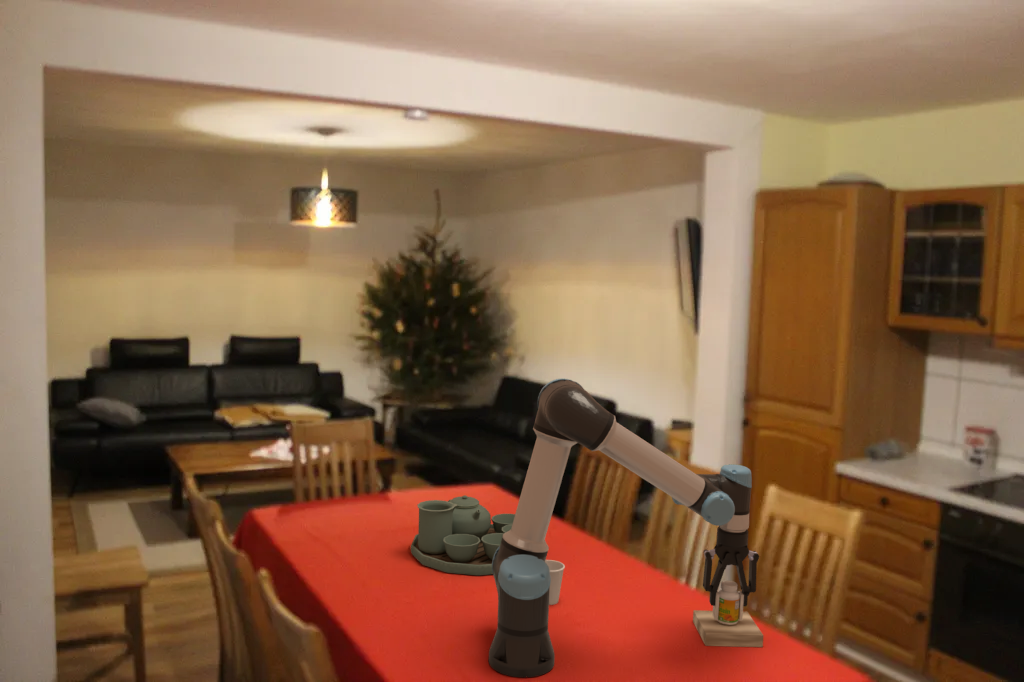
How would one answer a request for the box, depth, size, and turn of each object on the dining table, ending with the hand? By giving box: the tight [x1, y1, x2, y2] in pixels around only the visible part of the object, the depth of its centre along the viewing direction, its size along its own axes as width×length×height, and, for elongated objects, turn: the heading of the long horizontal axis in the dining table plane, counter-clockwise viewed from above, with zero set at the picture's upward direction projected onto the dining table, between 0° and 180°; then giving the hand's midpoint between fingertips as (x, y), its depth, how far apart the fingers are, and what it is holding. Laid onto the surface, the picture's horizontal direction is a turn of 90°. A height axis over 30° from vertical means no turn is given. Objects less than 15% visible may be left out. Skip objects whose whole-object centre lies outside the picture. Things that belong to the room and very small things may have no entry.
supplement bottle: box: [717, 580, 740, 625], centre depth 218 cm, size 5×5×10 cm
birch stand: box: [692, 609, 764, 648], centre depth 219 cm, size 14×14×3 cm
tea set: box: [410, 495, 515, 576], centre depth 271 cm, size 40×40×16 cm
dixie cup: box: [545, 559, 566, 606], centre depth 235 cm, size 8×8×10 cm
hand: (727, 617), depth 218 cm, fingers closed on supplement bottle, 5 cm apart
